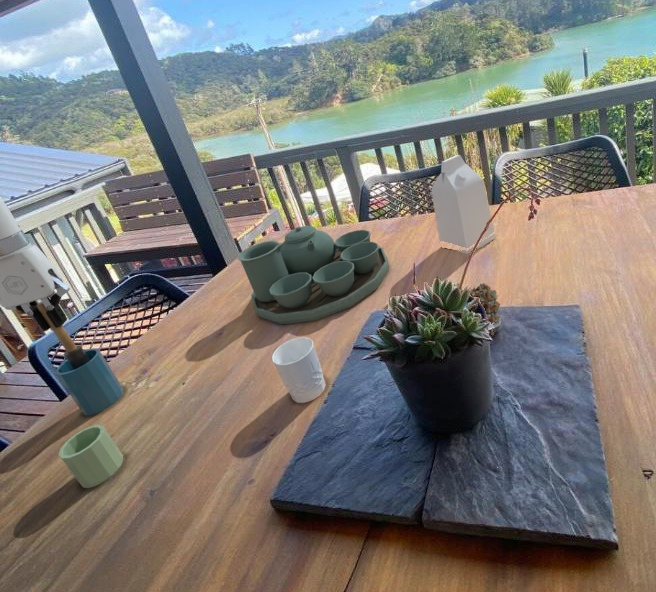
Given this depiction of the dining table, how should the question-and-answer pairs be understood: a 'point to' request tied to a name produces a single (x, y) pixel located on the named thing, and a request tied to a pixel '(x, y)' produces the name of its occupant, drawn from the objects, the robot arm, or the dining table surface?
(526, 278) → the dining table surface
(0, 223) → the robot arm
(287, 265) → the tea set
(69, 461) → the holder
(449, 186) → the milk
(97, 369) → the blue faceted cup
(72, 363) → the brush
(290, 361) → the white cup
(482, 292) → the pine cone
